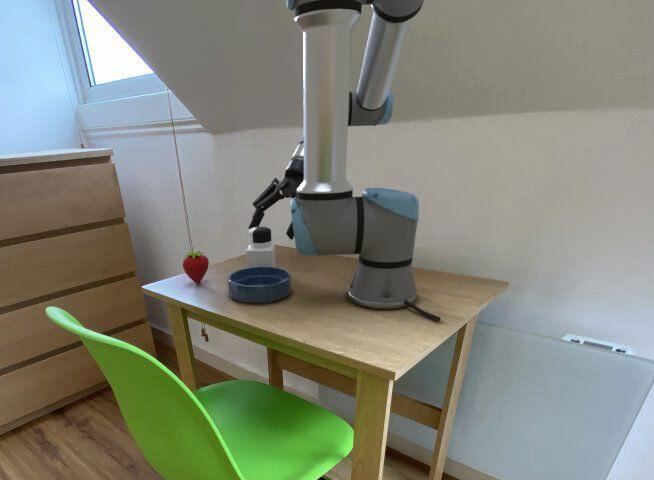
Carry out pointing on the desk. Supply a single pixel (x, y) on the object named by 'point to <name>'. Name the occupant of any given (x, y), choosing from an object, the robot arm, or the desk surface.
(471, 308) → the desk surface
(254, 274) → the bowl
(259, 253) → the medicine bottle
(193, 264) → the strawberry
